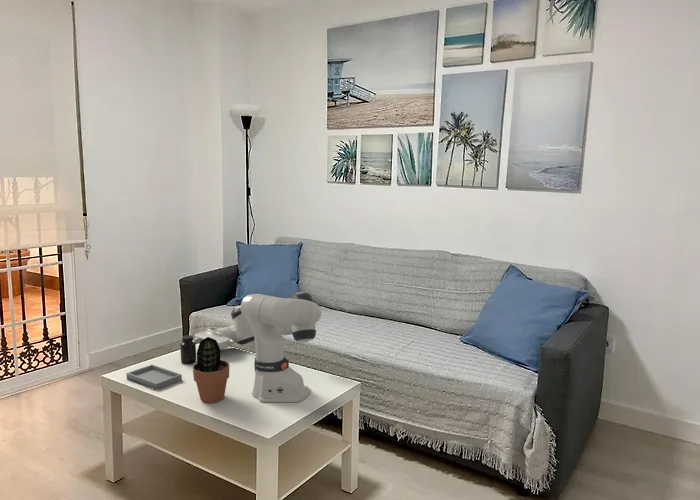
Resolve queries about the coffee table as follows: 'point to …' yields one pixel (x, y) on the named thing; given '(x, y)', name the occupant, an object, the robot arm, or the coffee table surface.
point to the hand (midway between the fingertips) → (198, 344)
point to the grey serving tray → (154, 376)
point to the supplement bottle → (188, 350)
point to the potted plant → (210, 371)
